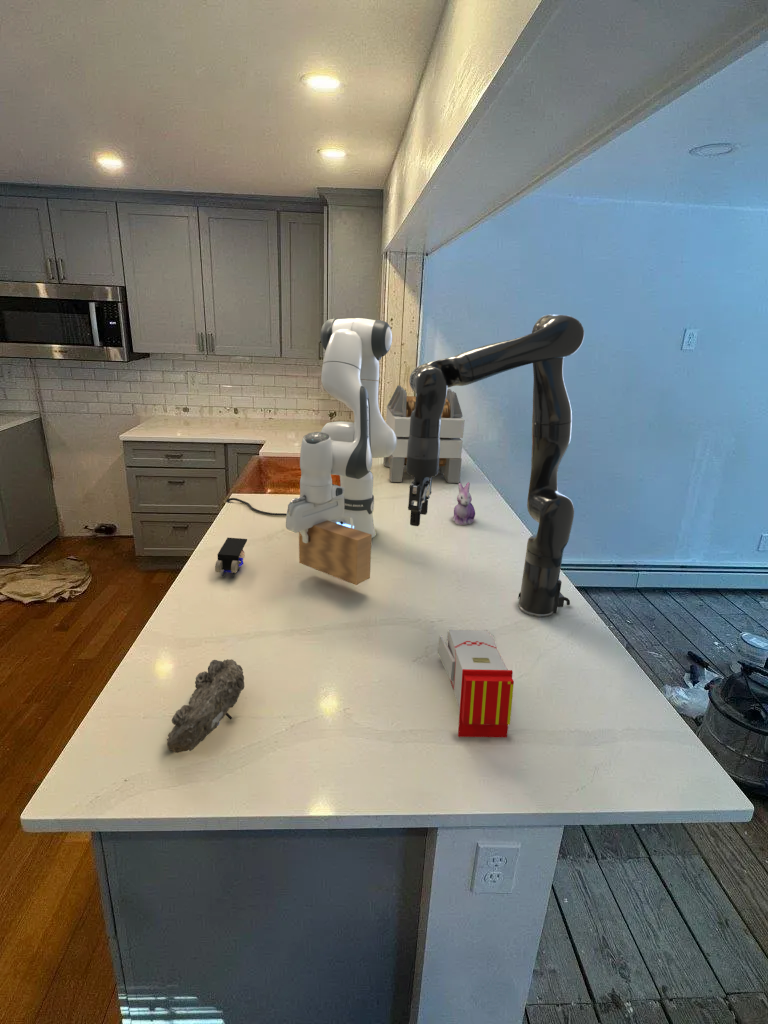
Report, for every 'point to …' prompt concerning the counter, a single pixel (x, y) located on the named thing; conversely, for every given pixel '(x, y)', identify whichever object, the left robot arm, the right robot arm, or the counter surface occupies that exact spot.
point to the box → (337, 551)
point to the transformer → (449, 435)
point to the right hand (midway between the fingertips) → (418, 519)
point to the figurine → (464, 506)
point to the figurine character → (230, 556)
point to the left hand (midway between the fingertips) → (315, 538)
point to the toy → (478, 682)
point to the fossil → (206, 705)
